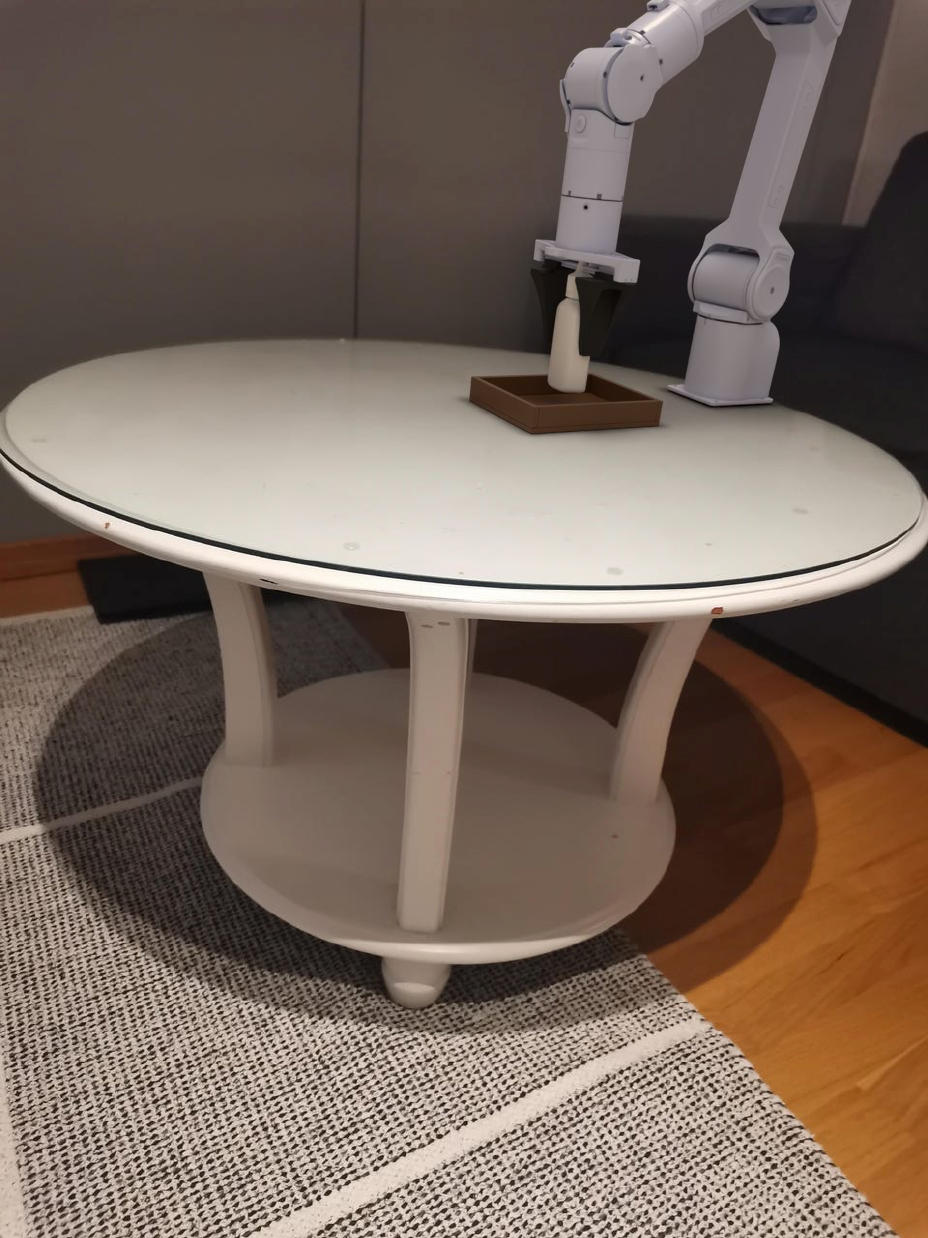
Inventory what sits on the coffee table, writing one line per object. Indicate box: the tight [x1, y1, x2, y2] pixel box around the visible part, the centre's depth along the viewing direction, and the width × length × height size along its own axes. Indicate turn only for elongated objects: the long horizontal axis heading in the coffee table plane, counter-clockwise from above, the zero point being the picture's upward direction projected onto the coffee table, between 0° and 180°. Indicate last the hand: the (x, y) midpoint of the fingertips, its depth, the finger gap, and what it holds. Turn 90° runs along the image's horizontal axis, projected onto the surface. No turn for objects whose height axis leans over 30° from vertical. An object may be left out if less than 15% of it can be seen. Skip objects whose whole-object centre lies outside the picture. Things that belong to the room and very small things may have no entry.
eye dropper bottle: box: [547, 261, 593, 393], centre depth 92 cm, size 4×6×12 cm
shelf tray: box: [468, 372, 664, 435], centre depth 95 cm, size 15×12×2 cm
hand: (571, 348), depth 93 cm, fingers closed on eye dropper bottle, 5 cm apart
